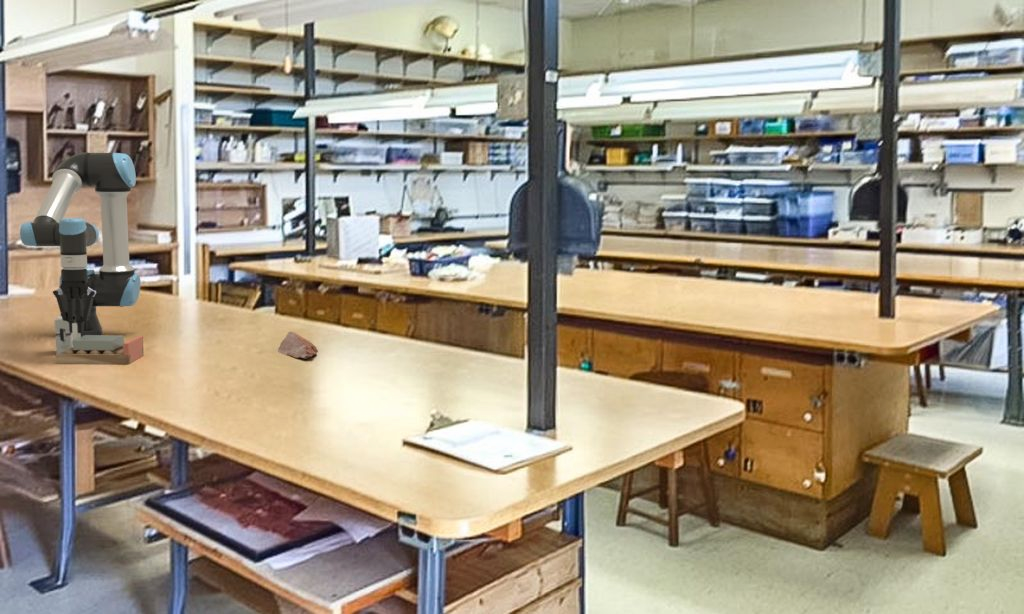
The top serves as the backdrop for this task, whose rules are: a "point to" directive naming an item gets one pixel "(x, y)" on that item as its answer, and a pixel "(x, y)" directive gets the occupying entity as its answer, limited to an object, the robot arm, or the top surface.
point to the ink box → (62, 335)
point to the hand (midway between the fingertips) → (76, 343)
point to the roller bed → (94, 356)
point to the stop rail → (133, 348)
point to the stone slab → (98, 342)
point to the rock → (297, 346)
